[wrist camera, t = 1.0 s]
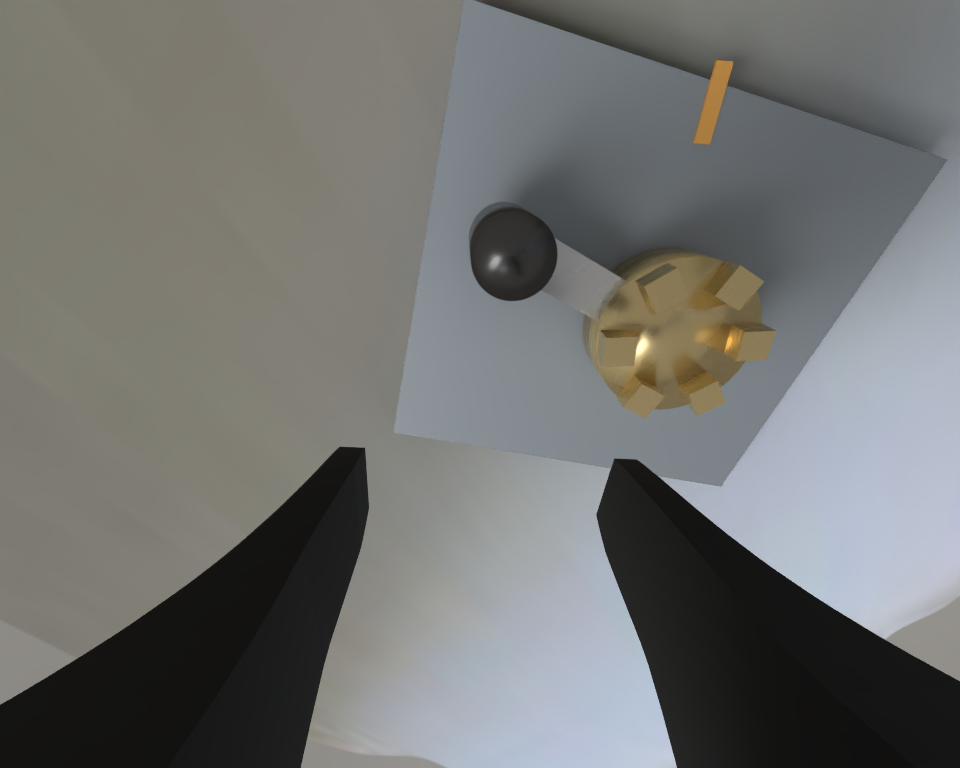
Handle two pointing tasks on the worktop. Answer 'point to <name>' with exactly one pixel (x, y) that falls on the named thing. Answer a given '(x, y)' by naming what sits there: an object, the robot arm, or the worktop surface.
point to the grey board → (631, 238)
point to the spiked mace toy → (633, 309)
